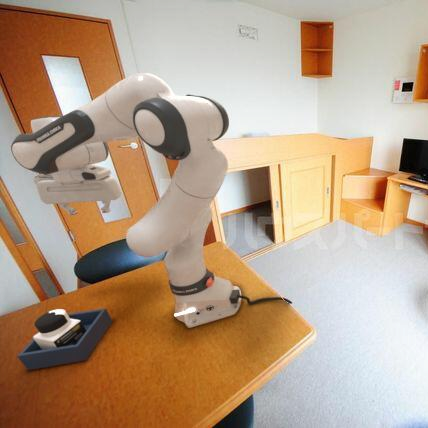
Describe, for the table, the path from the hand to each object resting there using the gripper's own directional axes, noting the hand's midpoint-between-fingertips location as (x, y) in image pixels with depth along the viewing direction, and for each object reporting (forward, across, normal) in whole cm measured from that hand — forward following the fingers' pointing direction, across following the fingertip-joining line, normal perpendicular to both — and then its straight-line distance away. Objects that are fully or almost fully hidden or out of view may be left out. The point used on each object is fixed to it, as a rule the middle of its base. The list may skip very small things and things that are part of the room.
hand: (90, 213), depth 79 cm
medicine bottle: (+32, -4, -24) cm, 40 cm away
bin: (+33, -3, -23) cm, 40 cm away
